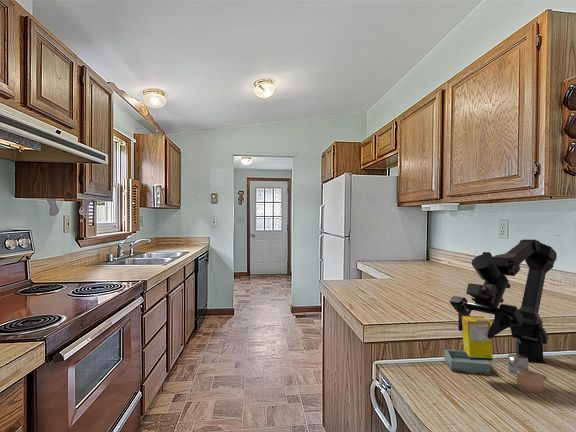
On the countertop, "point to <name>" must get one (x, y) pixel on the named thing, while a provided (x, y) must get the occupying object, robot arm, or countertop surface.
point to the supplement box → (476, 338)
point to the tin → (517, 363)
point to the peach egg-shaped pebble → (530, 381)
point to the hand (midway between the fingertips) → (473, 333)
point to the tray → (465, 362)
